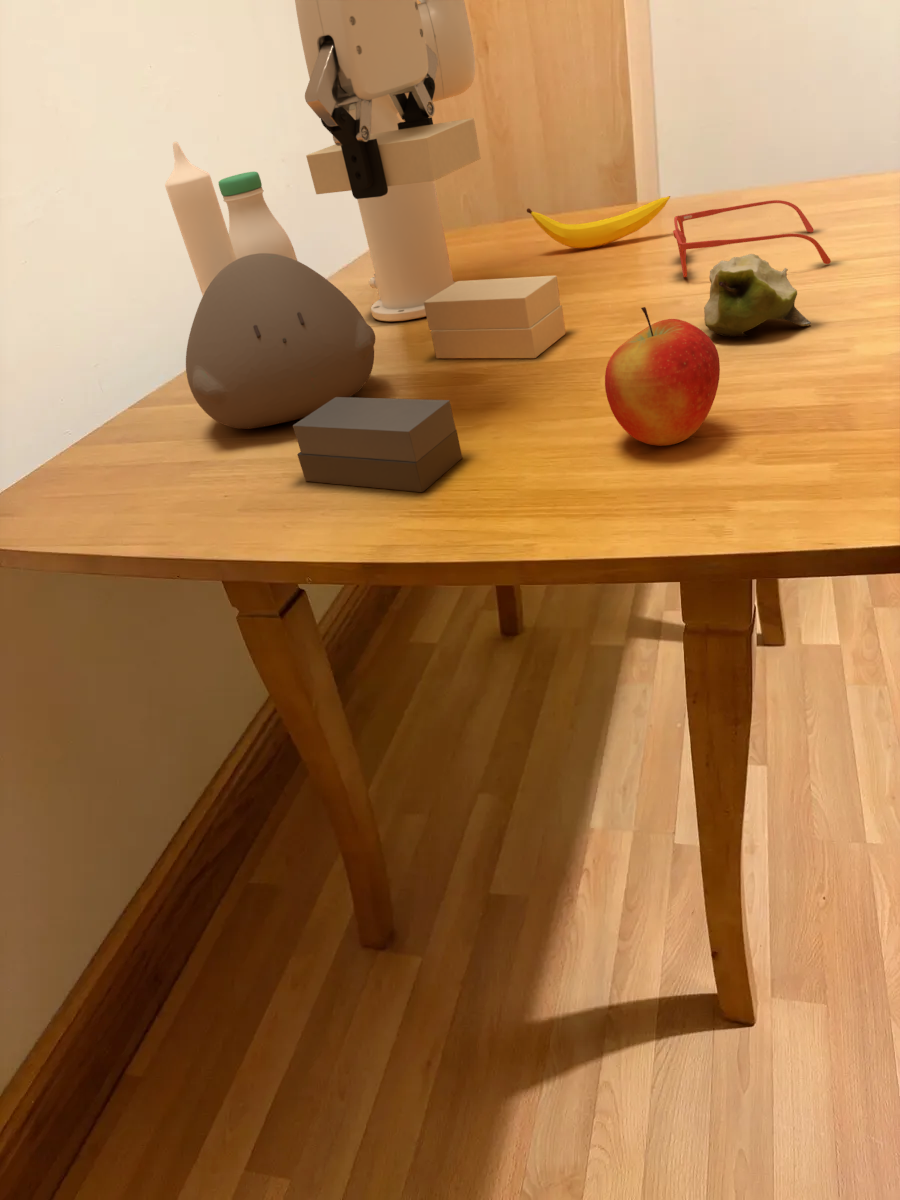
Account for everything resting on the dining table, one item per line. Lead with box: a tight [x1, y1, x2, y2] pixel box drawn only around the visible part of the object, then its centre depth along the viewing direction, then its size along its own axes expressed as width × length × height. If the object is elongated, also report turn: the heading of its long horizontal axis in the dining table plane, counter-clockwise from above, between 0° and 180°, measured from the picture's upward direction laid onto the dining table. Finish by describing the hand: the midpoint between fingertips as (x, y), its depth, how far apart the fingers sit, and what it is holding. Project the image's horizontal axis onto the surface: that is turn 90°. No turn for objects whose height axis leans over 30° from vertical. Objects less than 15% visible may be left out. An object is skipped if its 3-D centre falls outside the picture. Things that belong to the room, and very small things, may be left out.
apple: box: [604, 306, 721, 447], centre depth 65 cm, size 8×8×10 cm
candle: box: [164, 141, 237, 296], centre depth 93 cm, size 7×7×25 cm
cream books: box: [424, 275, 566, 359], centre depth 93 cm, size 12×7×6 cm, turn 58°
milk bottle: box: [218, 171, 298, 261], centre depth 104 cm, size 8×8×20 cm
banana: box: [526, 195, 671, 250], centre depth 121 cm, size 3×19×6 cm, turn 76°
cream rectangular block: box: [305, 117, 481, 195], centre depth 73 cm, size 12×7×3 cm, turn 57°
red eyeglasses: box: [672, 199, 832, 278], centre depth 102 cm, size 17×16×5 cm
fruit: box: [703, 253, 812, 338], centre depth 82 cm, size 9×9×8 cm
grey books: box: [292, 396, 463, 493], centre depth 72 cm, size 12×6×5 cm, turn 58°
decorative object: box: [185, 253, 376, 430], centre depth 87 cm, size 18×18×15 cm
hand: (398, 182), depth 74 cm, fingers closed on cream rectangular block, 7 cm apart
